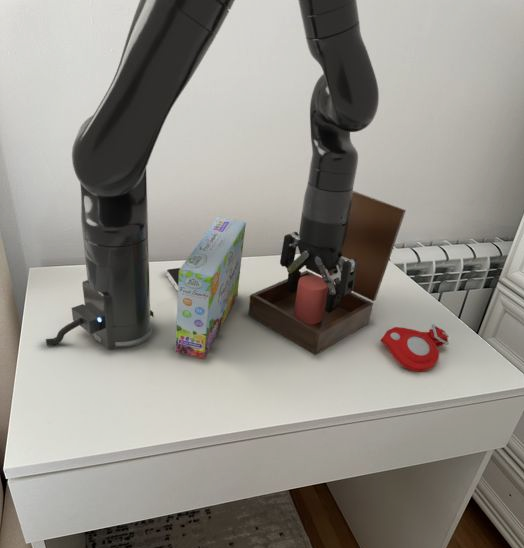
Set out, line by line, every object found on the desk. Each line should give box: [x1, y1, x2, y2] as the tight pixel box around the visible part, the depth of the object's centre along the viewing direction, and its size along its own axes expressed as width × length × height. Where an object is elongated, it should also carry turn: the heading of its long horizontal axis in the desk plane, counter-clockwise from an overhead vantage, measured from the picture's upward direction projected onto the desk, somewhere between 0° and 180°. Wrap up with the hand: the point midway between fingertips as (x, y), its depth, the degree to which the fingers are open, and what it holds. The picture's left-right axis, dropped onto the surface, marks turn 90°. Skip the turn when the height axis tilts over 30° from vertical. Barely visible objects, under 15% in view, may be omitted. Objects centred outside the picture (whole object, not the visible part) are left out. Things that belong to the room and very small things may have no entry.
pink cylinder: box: [294, 275, 328, 324], centre depth 94 cm, size 5×5×7 cm
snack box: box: [174, 216, 247, 360], centre depth 88 cm, size 21×6×15 cm, turn 168°
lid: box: [305, 190, 407, 302], centre depth 97 cm, size 16×16×5 cm
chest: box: [248, 269, 374, 356], centre depth 95 cm, size 16×16×4 cm
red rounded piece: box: [380, 324, 450, 373], centre depth 90 cm, size 12×4×10 cm
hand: (311, 300), depth 94 cm, fingers open, 8 cm apart
